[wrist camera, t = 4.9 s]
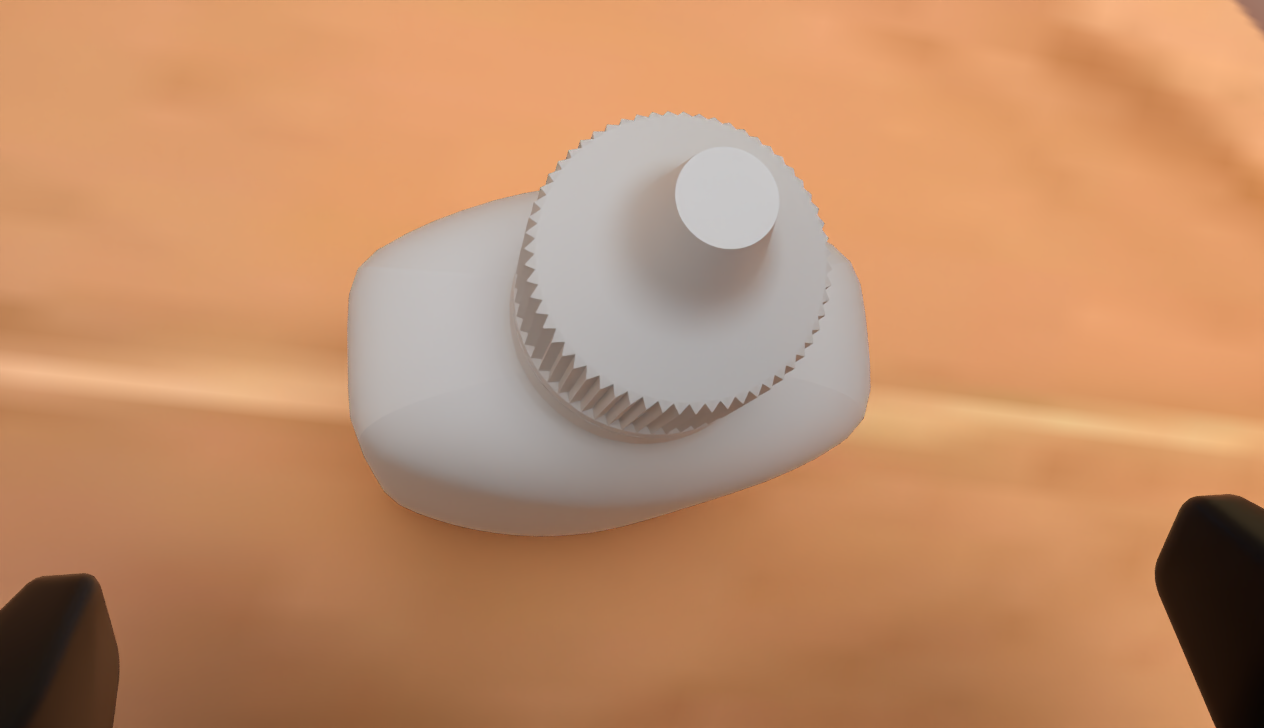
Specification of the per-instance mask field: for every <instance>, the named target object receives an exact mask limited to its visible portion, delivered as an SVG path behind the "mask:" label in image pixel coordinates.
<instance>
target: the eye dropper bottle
mask: <svg viewBox="0 0 1264 728" xmlns="http://www.w3.org/2000/svg"><path fill="white" fill-rule="evenodd" d="M811 197H812V194H810V193H809V192H808V191H806V190H805V189H804V186H803V181H802V180H801V179H799V178H797V177H796V176H795V174H794V169H793V168H791V167H789V166H787V165H785V163H784V160H783V157H781V156H778V155H775V154H774V153H773V150H772V148H771V147H770V146H766V145H762V143H761V142H760V140H759V139H758V137H750V136H749V135H748V134H747V133H746V131H745V130H744V129H735V128H734V127H733V126H732V125H731V124H730V123H724V124H722V123H721V122H719V121H718V120H717V119H716V118H715V117H714V118H711V119H706V118H705V117H703V116H702V115H700V114H698V115H696V116H694V117H692V116H691V115H689V114H687V113H685V112H682V113H681V114H679V115H676V114H673V113H671V112H669V111H667V112H666V113H665V114H664V115H663V116H662V115H659V114H657V113H654V112H652V113H651V114H650V116H649V117H645V116H640V115H636V117H635V119H634V121H633V120H626V119H621V122H620V124H619V125H608V124H607V126H606V129H605V132H593V134H592V137H591V139H589V140H580V143H579V146H578V149H573V150H568V154H567V157H566V160H562V161H558V163H557V166H556V170H555V172H553V173H550V174H548V177H547V181H546V185H545V186H543V187H540V191H535V192H529V193H523V194H519V195H515V196H511V197H506V198H502V199H498V200H494V201H491V202H488V203H485V204H481V205H478V206H475V207H472V208H469V209H466V210H462V211H460V212H457V213H454V214H452V215H449V216H446V217H444V218H441V219H438V220H436V221H433V222H431V223H429V224H427V225H424V226H422V227H420V228H418V229H416V230H413V231H411V232H409V233H407V234H405V235H403V236H401V237H400V238H398V239H396V240H394V241H393V242H391V243H389V244H387V245H385V246H384V247H382V248H380V249H378V250H377V251H376V252H375V253H374V254H373V255H372V256H371V257H369V258H368V259H367V260H366V261H365V262H364V263H363V264H362V265H361V266H360V267H359V268H358V270H357V273H356V276H355V279H354V282H353V285H352V287H351V290H350V293H349V304H348V328H347V332H348V393H349V409H350V419H351V421H352V424H353V427H354V430H355V433H356V436H357V439H358V441H359V444H360V447H361V450H362V453H363V455H364V457H365V459H366V461H367V463H368V465H369V466H370V468H371V470H372V472H373V474H374V475H375V477H376V479H377V480H378V482H379V484H380V485H381V487H382V489H383V490H384V492H385V493H386V494H388V495H389V496H390V497H391V498H392V499H393V500H394V501H396V502H397V503H398V504H399V505H401V506H403V507H405V508H407V509H410V510H412V511H414V512H416V513H418V514H421V515H424V516H427V517H430V518H433V519H436V520H439V521H442V522H446V523H449V524H453V525H456V526H461V527H465V528H470V529H474V530H479V531H486V532H492V533H498V534H508V535H518V536H564V535H576V534H584V533H592V532H599V531H604V530H609V529H614V528H618V527H622V526H626V525H630V524H634V523H637V522H641V521H644V520H648V519H651V518H654V517H658V516H661V515H664V514H668V513H671V512H674V511H678V510H681V509H684V508H687V507H690V506H694V505H697V504H700V503H703V502H707V501H710V500H713V499H716V498H719V497H722V496H725V495H728V494H731V493H734V492H737V491H740V490H743V489H746V488H749V487H752V486H754V485H757V484H760V483H763V482H766V481H768V480H771V479H773V478H775V477H778V476H780V475H782V474H785V473H787V472H790V471H792V470H794V469H796V468H798V467H800V466H802V465H804V464H806V463H808V462H810V461H812V460H814V459H816V458H818V457H819V456H821V455H822V454H824V453H826V452H827V451H829V450H830V449H832V448H834V447H835V446H837V445H838V444H840V443H841V442H842V441H844V440H845V439H846V438H848V436H849V435H850V434H851V433H852V432H853V430H854V429H855V428H856V427H857V426H858V425H859V423H860V422H861V421H862V420H863V419H864V415H865V410H866V406H867V402H868V398H869V393H870V358H869V346H868V334H867V325H866V316H865V308H864V302H863V296H862V290H861V285H860V282H859V280H858V278H857V275H856V273H855V271H854V269H853V266H852V264H851V262H850V261H849V260H848V259H847V258H846V257H845V256H844V255H843V254H842V253H840V252H839V251H838V250H837V249H836V248H835V247H834V246H833V245H832V244H830V243H828V242H827V240H828V239H829V238H828V237H827V236H826V234H825V233H824V232H823V230H822V228H823V226H824V222H823V221H822V220H821V219H820V218H819V217H818V216H817V214H818V210H819V208H818V207H817V206H815V205H814V204H813V203H812V202H811Z"/></svg>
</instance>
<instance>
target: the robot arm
mask: <svg viewBox="0 0 1264 728" xmlns="http://www.w3.org/2000/svg"><path fill="white" fill-rule="evenodd" d="M1155 582H1156V586H1157V590H1158V593H1159V596H1160V598H1161V600H1162V603H1163V605H1164V607H1165V610H1166V612H1167V614H1168V617H1169V619H1170V621H1171V624H1172V626H1173V629H1174V631H1175V633H1176V636H1177V638H1178V640H1179V643H1180V645H1181V647H1182V650H1183V652H1184V654H1185V657H1186V659H1187V661H1188V664H1189V666H1190V668H1191V671H1192V673H1193V675H1194V678H1195V680H1196V682H1197V685H1198V687H1199V690H1200V692H1201V694H1202V697H1203V699H1204V701H1205V704H1206V706H1207V708H1208V711H1209V713H1210V715H1211V718H1212V720H1213V722H1214V724H1215V726H1216V728H1264V509H1263V508H1261V507H1259V506H1257V505H1256V504H1254V503H1252V502H1250V501H1248V500H1246V499H1244V498H1242V497H1240V496H1237V495H1231V494H1223V495H1208V496H1196V497H1193V498H1190V499H1189V500H1187V501H1186V502H1185V503H1184V504H1183V505H1182V507H1181V508H1180V510H1179V512H1178V514H1177V517H1176V519H1175V521H1174V523H1173V526H1172V528H1171V530H1170V532H1169V535H1168V537H1167V539H1166V541H1165V543H1164V546H1163V548H1162V550H1161V552H1160V555H1159V557H1158V559H1157V562H1156V567H1155ZM118 682H119V653H118V647H117V643H116V639H115V636H114V632H113V628H112V625H111V621H110V618H109V614H108V611H107V607H106V603H105V600H104V596H103V593H102V589H101V586H100V584H99V582H98V581H97V579H96V578H95V577H94V576H92V575H90V574H85V573H82V574H68V575H54V576H42V577H39V578H36V579H34V580H32V581H31V582H29V583H28V584H27V585H26V586H24V587H23V588H22V589H21V590H20V591H19V592H18V593H17V594H16V595H15V596H14V597H13V598H12V599H11V600H10V601H9V602H8V603H7V604H6V605H5V606H4V607H3V608H2V609H1V610H0V728H113V722H114V714H115V706H116V698H117V690H118Z"/></svg>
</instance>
